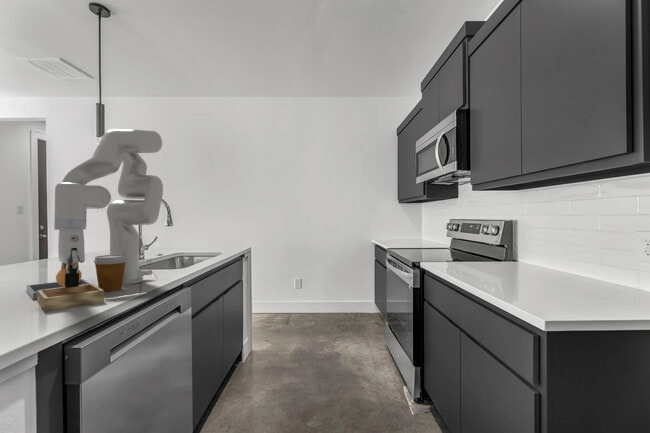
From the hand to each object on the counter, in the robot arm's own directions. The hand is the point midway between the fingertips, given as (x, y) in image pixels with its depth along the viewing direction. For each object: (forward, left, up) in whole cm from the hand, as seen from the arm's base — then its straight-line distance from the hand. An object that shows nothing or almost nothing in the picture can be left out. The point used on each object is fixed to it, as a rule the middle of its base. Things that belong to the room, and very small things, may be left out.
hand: (69, 284), depth 97 cm
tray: (0, 0, -5) cm, 5 cm away
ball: (0, 0, -1) cm, 1 cm away
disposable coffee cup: (-12, -7, -5) cm, 15 cm away
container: (0, -16, -5) cm, 17 cm away
